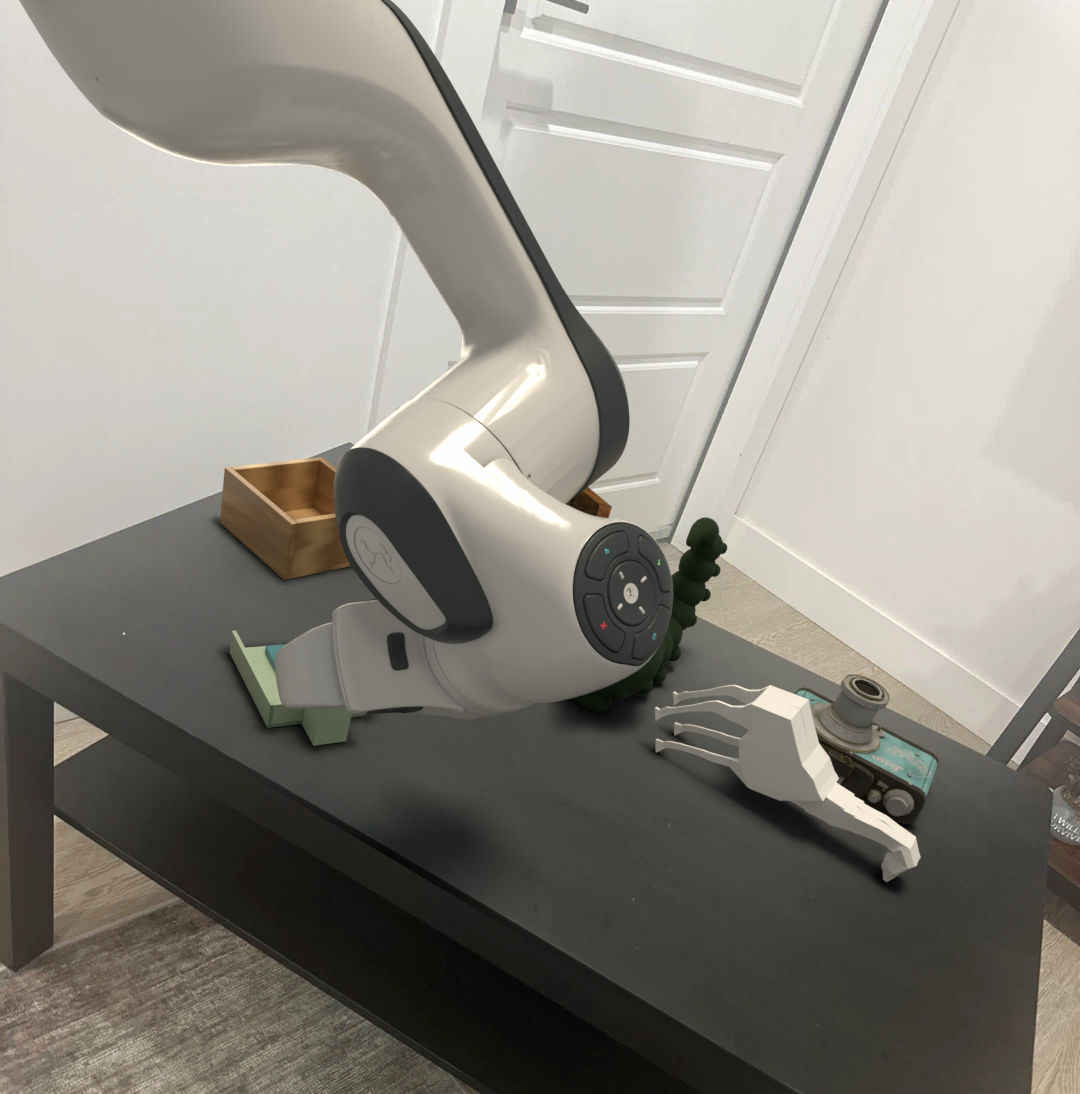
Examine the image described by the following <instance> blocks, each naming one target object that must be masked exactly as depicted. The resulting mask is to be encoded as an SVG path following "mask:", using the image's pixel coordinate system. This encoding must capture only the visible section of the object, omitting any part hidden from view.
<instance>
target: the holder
mask: <svg viewBox="0 0 1080 1094" xmlns="http://www.w3.org/2000/svg"><path fill="white" fill-rule="evenodd" d="M336 468H337V467H335V465H333V464H332V463H330V462H329V461H328V460H326V459H325V458H324V457H323V456H319V457H318V456H317V457H309V458H300V459H291V460H282V461H281V460H280V461H273V462H264V463H263V462H262V463H255V464H244V465H237V466H227V467H224V473H223V481H222V482H223V483H222V493H221V503H220V504H221V505H220V518H219V524H221V526H223V527H224V528H225V529H226V530H227V531H229V532H230V533H231V534H232V535H233V536H234V537H235V538H236V539H238V540H239V542H240V543H242V544H243V545H244V546H245V547H246V548H247V549H248V550H250V551H251V552H252V553H253V554H254V555H255V556H256V557H257V558H259V560H261V561H262V562H263V563H264V564H265V565H267V566H268V568H270V569H271V570H272V571H273V572H274V573H276V574H277V575H278V577H280V578H281V579H282V580H283V581H285V580H291V579H296V578H301V577H305V576H311V575H315V574H320V573H324V572H329V571H335V570H339V569H345V568H348V567H349V568H350V567H351V565H350V563H349V562H348V560H347V558H346V556H345V553H344V551H343V548H342V544H341V540H340V536H339V532H338V527H337V522H336V516H335V510H334V498H333V491H334V478H335V472H336Z"/></svg>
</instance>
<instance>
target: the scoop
mask: <svg viewBox="0 0 1080 1094" xmlns="http://www.w3.org/2000/svg"><path fill="white" fill-rule="evenodd" d="M266 646H267V645H260V646H248V647H245V645H244V643H243V641H242V639H241V637H240V635H239V634H238V631H237V630H231V636H230V645H229V655H230V656H231V659H232V661H233V663H234V664H235V666H236V669H237V671H238V673H239V675H240V676H241V679H242V680H243V682H244V685H245V686H246V688H247V691H248V692H249V694H250V696H251V698H252V701H253V702H254V704H255V706H256V708H257V710H258V712H259V714H260V716H261V718H262V721H263V723H264V724H265V726H266V728H267V729H271V728H278V727H286V726H295V725H301V726H302V728H303V730H304V731H305V733H306V735H307V737H308V738H309V741H310V742H311V744H312V746H313V747H315V746H323V745H329V744H336V743H338V744H339V743H345V742H347V739H348V734H349V729H350V726H351V725H350V724H351V720H352V719H353V718H359V717H365V716H366V714H367V713H363V714H351V713H349V712H348V711H347V709H346V707H334V708H314V709H289V708H286V707H284V706H283V704H282V703H281V700H280V697H279V693H278V688H277V681H276V674H275V670H274V668H273V666H272V665H271V663H270V661H269V659H268V657H267V655H266V654H265V647H266Z"/></svg>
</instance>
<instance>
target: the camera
mask: <svg viewBox="0 0 1080 1094" xmlns="http://www.w3.org/2000/svg"><path fill="white" fill-rule="evenodd" d="M840 689H841V690H840V692H839V694H838V696H837V697H836V699H835V700H832V699H830V698H828V697H826V696H825V695H823V694H821V693H819V692H817V691H815V690H813V689H811V688H808V687H800V688H798V689H797V690H795V692H794V694H795V695H798V696H801V697H803V698H806V699H809V703H810V708H811V712H812V717H813V722H814V726H815V730H816V733H817V737H818V741H819V744H820V745H821V747H822V748H823V749H824V751H825V752H826V753H827V755H828V756H829V757H830V760H831V762H832V765H833V768H834V771H835V772H836V774H837V776H838V778H839V779H838V781H837V782H836V783H838V784H839V785H841V786H842V787H844V788H846V789H847V790H849V791H850V792H852V793H853V794H855V795H854V796H855V797H857V798H859V799H861V800H862V801H864V804H866V805H868V806H870V807H872V808H873V809H875V810H877V811H879V812H881V813H883V814H885V815H887V816H888V817H889V818H891V819H892V820H893V821H894V822H896V823H898V824H903V825H907V824H911V823H912V822H914V821H915V819H916V818H917V817H918V815H919V814H920V812H921V811H922V809H923V808H924V806H925V804H926V801H927V800H926V799H927V797H928V794H929V791H930V788H931V785H932V783H933V779H934V777H935V774H936V772H937V769H938V766H939V758H938V756H937V755H936V754H935V753H934V752H932V751H930V750H929V749H927V748H925V747H922V746H921V745H918V744H917V743H915V742H913V741H911V740H909V739H907V738H906V737H903V736H901V735H899V734H898V733H895V732H894V731H892V730H889V729H888V728H886V727H884V726H882V725H880V724H878V723H876V722H875V721H873V720H874V719H875V717H876V716H877V714H878V712H879V711H880V710H883V709H884V708H887V705H888V704H889V703H890V701H891V697H890V694H889V692H888V691H887V689H886V688H885V687H883V686H882V685H881V684H880V683H879V682H877V681H876V680H873V679H871V678H870V677H867V676H864V675H861V674H856V673H855V674H853V673H850V674H847V675H845V676H844V677H843V679H842V680H841V682H840Z"/></svg>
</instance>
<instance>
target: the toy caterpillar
mask: <svg viewBox="0 0 1080 1094" xmlns="http://www.w3.org/2000/svg"><path fill="white" fill-rule="evenodd" d="M685 545H686V546H687V547H688V548H689V549H687V550H686V551H685V552H684V553H683V554H682V555H681V556H680V558H679V563H678V570H677V571H675V572H674V573H672V574H671V577H672V583H673V607H672V615H671V620H670V624H669V627H668V630H667V633H666V635H665V637H664V639H663V641H662V643H661V644H660V646H659V648H658V649H657V651H656V652H655V654H654V655H653V656H652V658H651V659H650V660H649V661H648V662H647V663H646V664H645V665H644V666H643V667H642V668H640V669H639V670H638V671H636V672H635V673H633V674H631V675H630V676H628V677H626V678H624V679H622V680H620V681H618V682H616V683H614V684H612V685H610V686H607V687H605V688H602V689H600V690H597V691H594V692H591V693H588V694H585V695H582V696H578V697H574V698H573V699H574V700H575V701H576V702H577V703H578V704H579V705H580V706H582V707H583V708H585V709H587V710H589V711H592V712H595V713H598V712H599V713H600V712H604V711H605V710H607V709H608V708H609V707H610V705H611V704H612V701H613V698H614V699H615V698H617V699H619V700H622V699H626V698H627V697H630V696H632V695H636V696H639V697H641V696H642V697H643V696H647V695H648V694H649V693H651V691H652V690H653V685H654V684H655V685H656V684H657V685H658V684H661V683H662V682H663V681H665V680H666V676H667V670H666V668H665V665H666V664H667V663H668V662H671V663H673V662H677V661H678V660H679V659H680V658H681V656H682V649H681V648H680V646H679V645H680V644H681V641H682V639H683V632H684V631H685V630H686V629H688V628H692V627H695V625H696V624H697V622H698V616H697V615H696V606H698V605H699V604H700V603H701V602H707V601H708V600H710V598H711V597H712V596H711V595H712V593H711V591H710V589H709V588H706V587H707V585H706V583H707V582H709V581H710V579H711V578H717V577H718V576H719V575H720V574H721V567H720V566H719V564H718V563H716V560H718V559H719V557H720V556H721V555H724V554H726V553H727V550H728V545H727V543H725V542H724V540H723V538H722V537H721V534H720V527H719V525H718V523H717V522H716V520H714V519H713V518H710V517H707V516H704V517H701V518H699V519H696V520H695V521H694V523H692V525H691V527H690V529H689V531H688V534H687V536H686V540H685Z"/></svg>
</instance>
